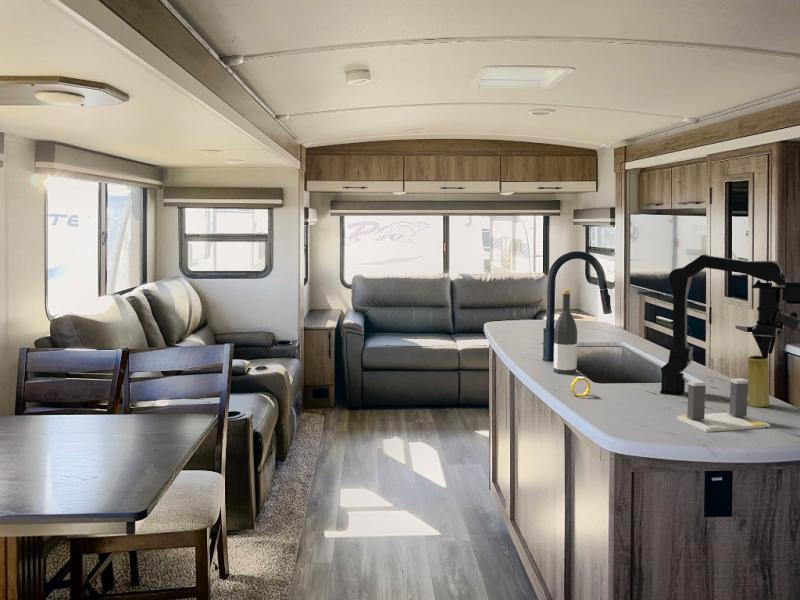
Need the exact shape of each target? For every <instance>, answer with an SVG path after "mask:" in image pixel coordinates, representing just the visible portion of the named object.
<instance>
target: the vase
mask: <svg viewBox="0 0 800 600" xmlns="http://www.w3.org/2000/svg"><path fill="white" fill-rule="evenodd" d="M747 365H748V366H747V372H748V373H747V380H748V395H747V406H751V407H753V406H754V408H755V407H756V408H765V407H769V406H770V405H771V401H770V382H769V381H770V380H769V357H767V358H763V356H762V355H751V356H749V357H748V358H747Z"/></svg>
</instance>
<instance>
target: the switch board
mask: <svg viewBox="0 0 800 600" xmlns="http://www.w3.org/2000/svg"><path fill="white" fill-rule="evenodd" d="M677 420H679V421H681V422H684V423H685V424H688V425H690V426H693V427H694V428H696V429H699V430H701V431H703V432H705V433H708V432H709V433H710V432H721V431H736V430H739V431H740V430H749V429H751V430H752V429H763V428H764V429H766V428H765V427H768V428H771V424H770V423H768V422H765V421H762V420H760V419H757V418H755V417H752V416H750V415H747V416H739V417H735V416H732V415H730V414H729V411H726V412H725V411H724V412H717V413H704V419H694V420H692V419H690V418H688V417H687V414H681V415H677Z"/></svg>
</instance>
